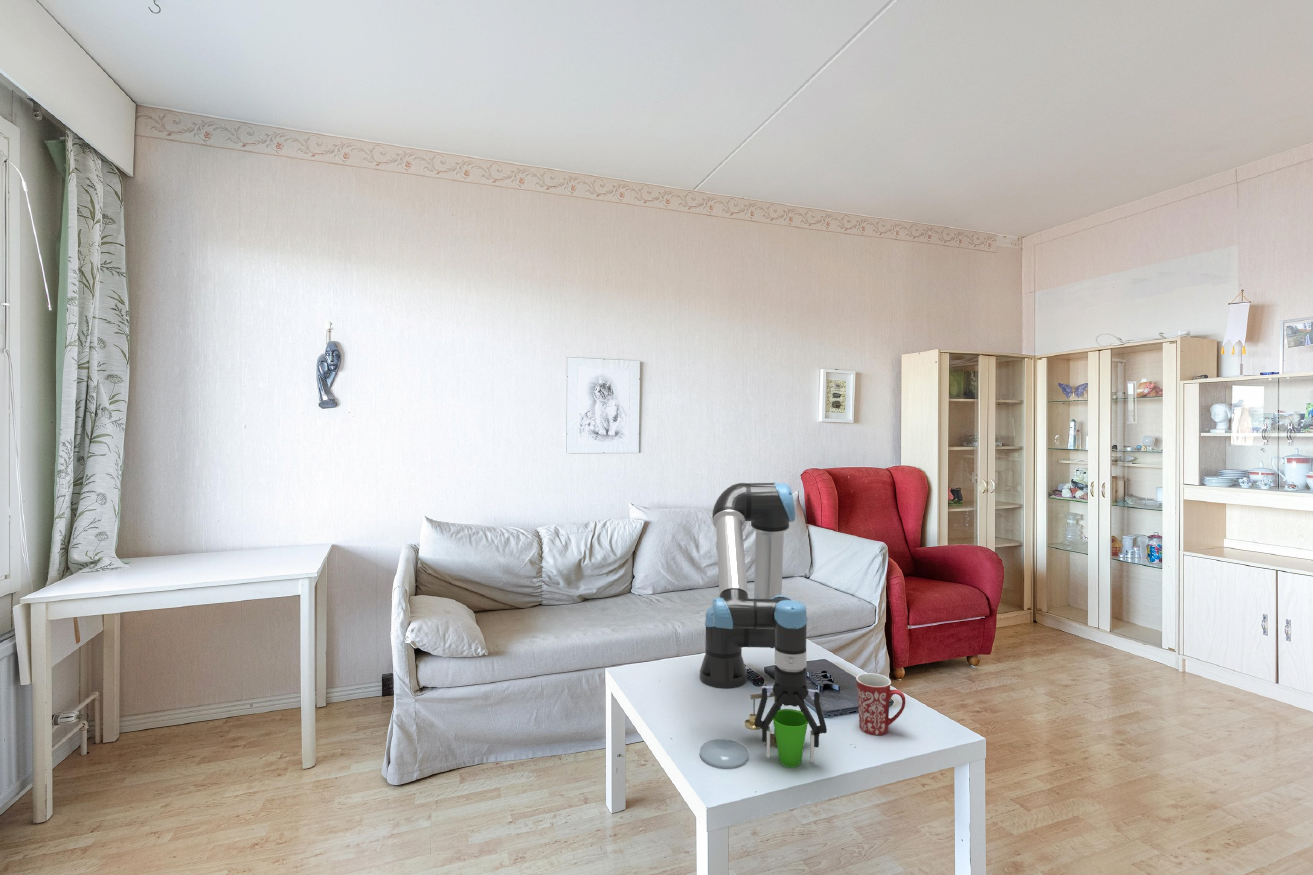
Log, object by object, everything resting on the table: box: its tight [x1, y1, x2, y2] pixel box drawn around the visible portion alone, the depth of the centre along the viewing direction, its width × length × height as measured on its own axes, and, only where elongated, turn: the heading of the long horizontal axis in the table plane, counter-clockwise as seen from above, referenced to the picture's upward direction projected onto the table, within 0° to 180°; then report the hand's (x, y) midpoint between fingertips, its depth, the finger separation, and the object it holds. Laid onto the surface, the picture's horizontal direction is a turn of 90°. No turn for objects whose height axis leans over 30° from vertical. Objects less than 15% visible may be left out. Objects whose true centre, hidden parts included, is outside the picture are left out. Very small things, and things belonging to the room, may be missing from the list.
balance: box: [743, 692, 802, 748], centre depth 161 cm, size 17×5×14 cm, turn 79°
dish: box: [699, 738, 750, 770], centre depth 155 cm, size 12×12×1 cm
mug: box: [855, 672, 906, 736], centre depth 167 cm, size 13×9×14 cm
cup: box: [772, 708, 809, 768], centre depth 152 cm, size 9×9×11 cm
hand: (790, 756), depth 152 cm, fingers open, 10 cm apart
